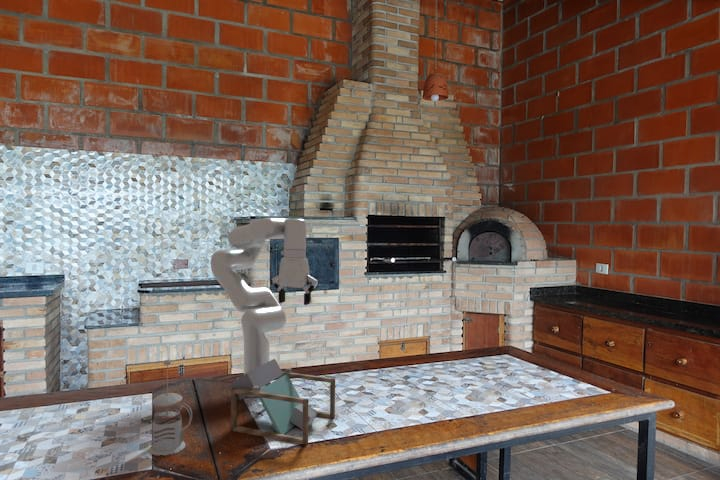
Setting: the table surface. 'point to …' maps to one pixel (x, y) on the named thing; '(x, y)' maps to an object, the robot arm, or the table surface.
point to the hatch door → (282, 386)
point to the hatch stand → (303, 401)
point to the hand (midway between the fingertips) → (294, 303)
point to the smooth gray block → (298, 416)
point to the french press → (174, 439)
